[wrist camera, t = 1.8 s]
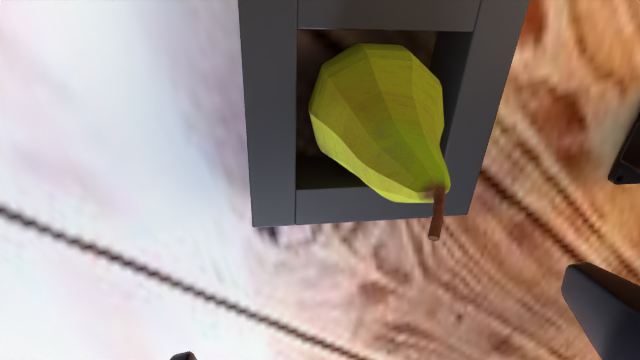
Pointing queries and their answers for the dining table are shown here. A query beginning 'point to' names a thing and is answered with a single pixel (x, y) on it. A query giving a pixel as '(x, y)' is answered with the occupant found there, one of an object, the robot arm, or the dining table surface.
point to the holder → (324, 172)
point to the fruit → (384, 123)
